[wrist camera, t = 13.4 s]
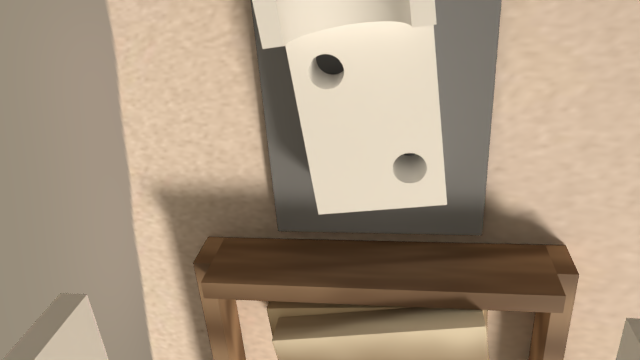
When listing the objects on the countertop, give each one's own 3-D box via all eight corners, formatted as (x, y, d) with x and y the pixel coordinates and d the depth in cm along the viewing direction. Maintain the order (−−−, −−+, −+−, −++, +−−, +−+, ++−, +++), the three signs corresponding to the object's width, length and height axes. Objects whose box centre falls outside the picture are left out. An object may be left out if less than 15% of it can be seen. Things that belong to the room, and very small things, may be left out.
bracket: (285, -37, 28) (248, -16, 21) (424, -61, 27) (431, -47, 20) (326, 185, 34) (306, 255, 27) (443, 175, 32) (452, 246, 26)
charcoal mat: (245, -69, 28) (242, -69, 28) (506, -87, 26) (508, -87, 26) (280, 226, 36) (278, 231, 36) (480, 230, 34) (482, 235, 34)
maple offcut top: (278, 317, 34) (271, 340, 32) (480, 302, 31) (485, 326, 30) (294, 365, 36) (288, 390, 34) (486, 354, 33) (491, 380, 32)
